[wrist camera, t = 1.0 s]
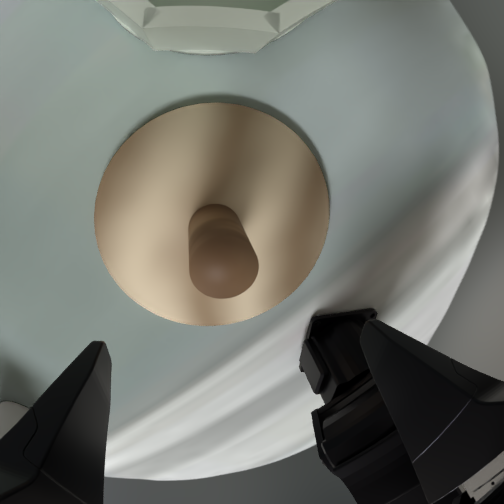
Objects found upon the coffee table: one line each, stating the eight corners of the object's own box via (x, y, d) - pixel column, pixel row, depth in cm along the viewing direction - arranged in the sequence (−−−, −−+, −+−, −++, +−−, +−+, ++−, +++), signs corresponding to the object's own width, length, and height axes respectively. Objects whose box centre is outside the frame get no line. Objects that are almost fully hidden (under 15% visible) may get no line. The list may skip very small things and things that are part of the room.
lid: (335, 115, 17) (391, 120, 12) (306, 310, 24) (335, 361, 18) (92, 109, 14) (49, 109, 9) (116, 319, 20) (103, 379, 15)
